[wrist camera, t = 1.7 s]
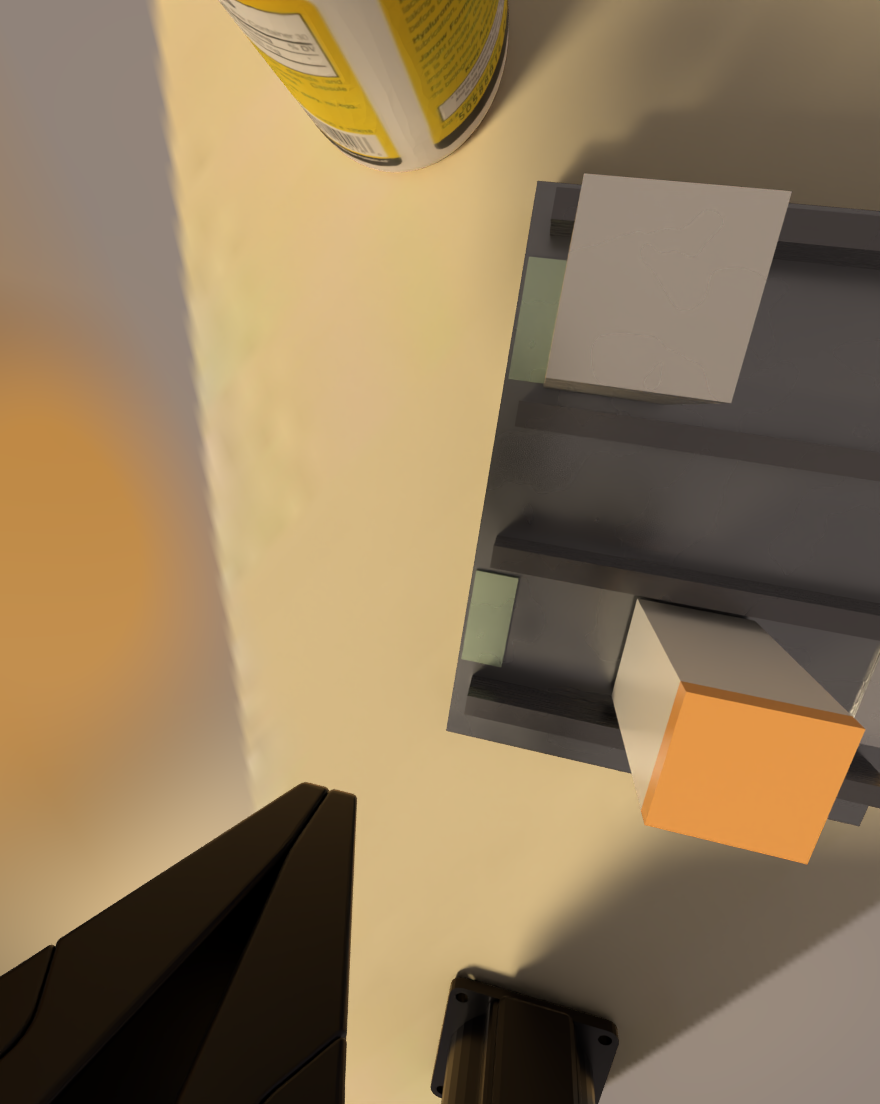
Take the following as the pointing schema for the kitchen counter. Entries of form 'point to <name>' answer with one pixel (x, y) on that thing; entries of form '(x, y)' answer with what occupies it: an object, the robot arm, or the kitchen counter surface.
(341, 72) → the supplement bottle
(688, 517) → the breaker panel
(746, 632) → the block
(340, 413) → the kitchen counter surface
